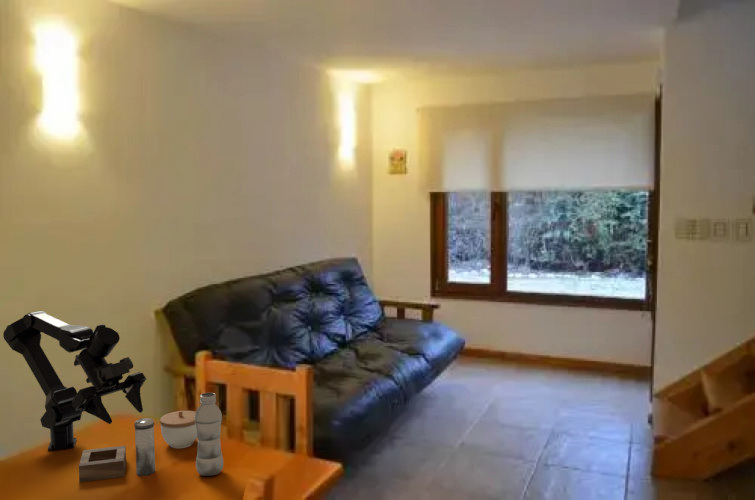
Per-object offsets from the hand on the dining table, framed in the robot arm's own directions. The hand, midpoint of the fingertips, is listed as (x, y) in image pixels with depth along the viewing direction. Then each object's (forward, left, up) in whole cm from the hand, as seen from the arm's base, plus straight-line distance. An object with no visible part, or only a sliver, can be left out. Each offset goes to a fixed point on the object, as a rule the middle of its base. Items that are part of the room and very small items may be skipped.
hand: (126, 417), depth 162 cm
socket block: (+1, -6, -13) cm, 14 cm away
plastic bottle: (+11, +19, -13) cm, 26 cm away
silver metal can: (+5, +4, -13) cm, 14 cm away
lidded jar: (-11, +13, -13) cm, 21 cm away
